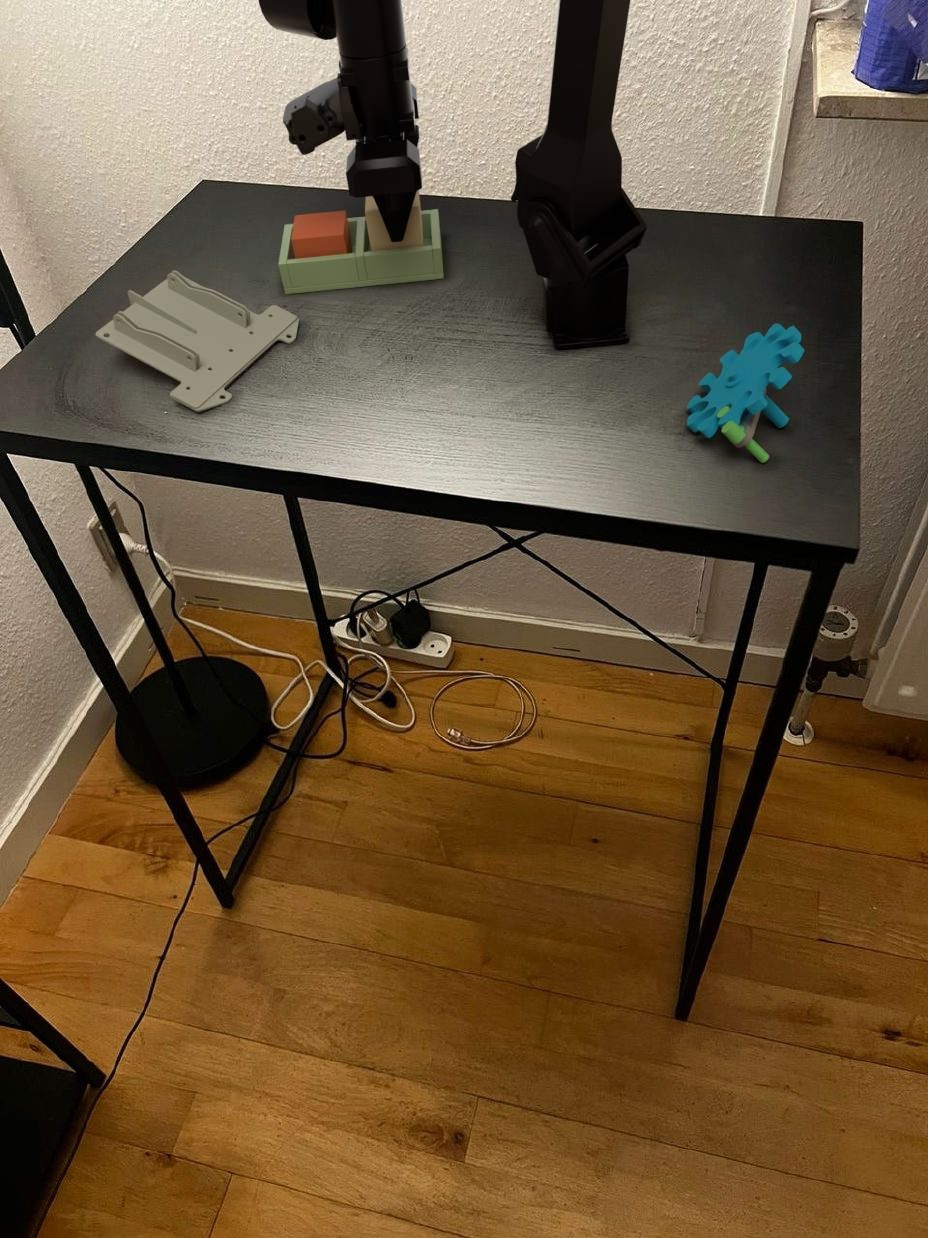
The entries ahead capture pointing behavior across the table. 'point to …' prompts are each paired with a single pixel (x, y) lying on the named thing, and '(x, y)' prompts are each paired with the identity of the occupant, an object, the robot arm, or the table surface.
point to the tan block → (379, 232)
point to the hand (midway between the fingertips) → (397, 227)
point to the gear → (746, 388)
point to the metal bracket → (196, 337)
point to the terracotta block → (321, 235)
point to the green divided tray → (363, 261)
